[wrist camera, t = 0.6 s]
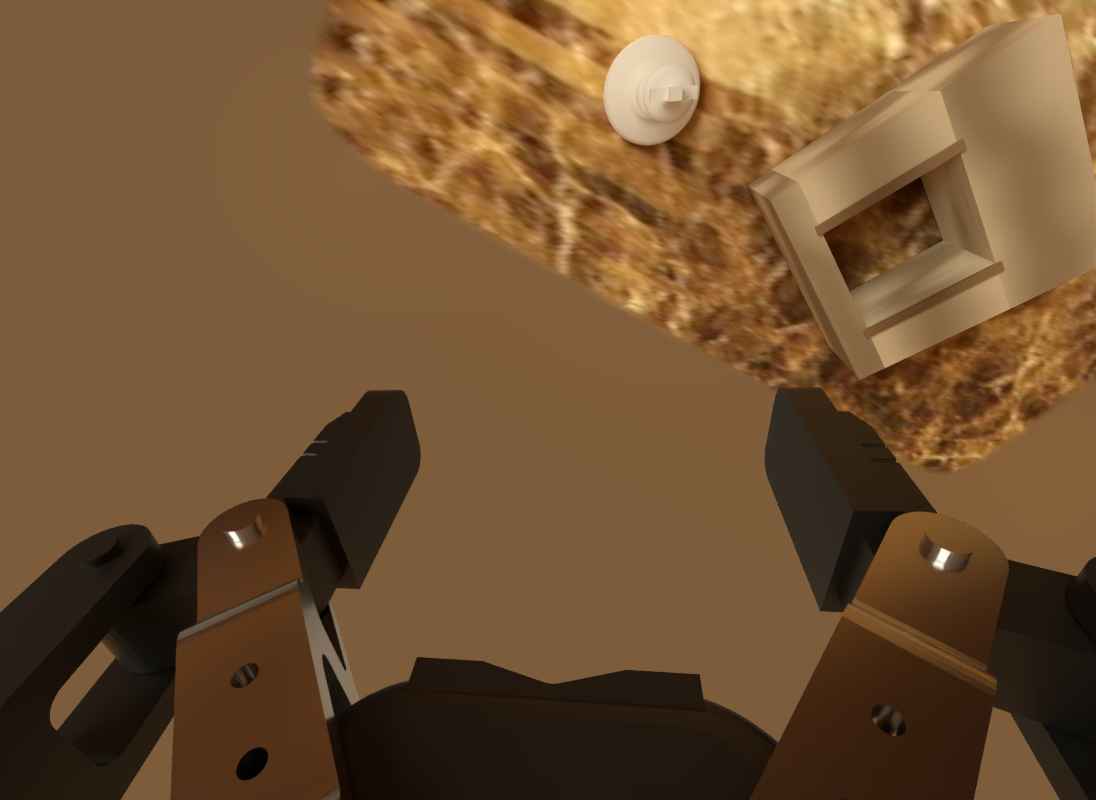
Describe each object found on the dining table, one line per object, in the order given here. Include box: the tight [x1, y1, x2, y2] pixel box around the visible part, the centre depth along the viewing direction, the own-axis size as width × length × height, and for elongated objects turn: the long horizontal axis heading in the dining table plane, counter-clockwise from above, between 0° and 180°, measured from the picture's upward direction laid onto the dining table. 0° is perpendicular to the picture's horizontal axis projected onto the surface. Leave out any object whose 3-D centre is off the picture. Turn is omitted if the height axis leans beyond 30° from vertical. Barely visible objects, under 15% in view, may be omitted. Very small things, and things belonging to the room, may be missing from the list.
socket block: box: [747, 14, 1096, 380], centre depth 26 cm, size 12×12×5 cm
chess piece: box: [604, 35, 700, 145], centre depth 22 cm, size 5×5×10 cm
